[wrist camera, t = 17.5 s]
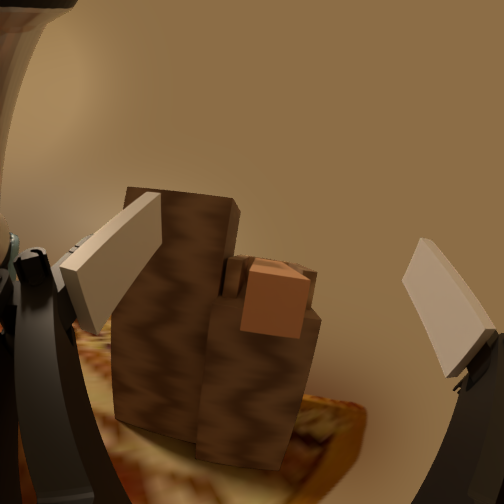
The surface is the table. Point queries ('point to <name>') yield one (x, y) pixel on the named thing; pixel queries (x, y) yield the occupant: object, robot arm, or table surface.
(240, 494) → the table surface
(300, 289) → the block
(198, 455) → the brown stepped wooden block
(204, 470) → the table surface
